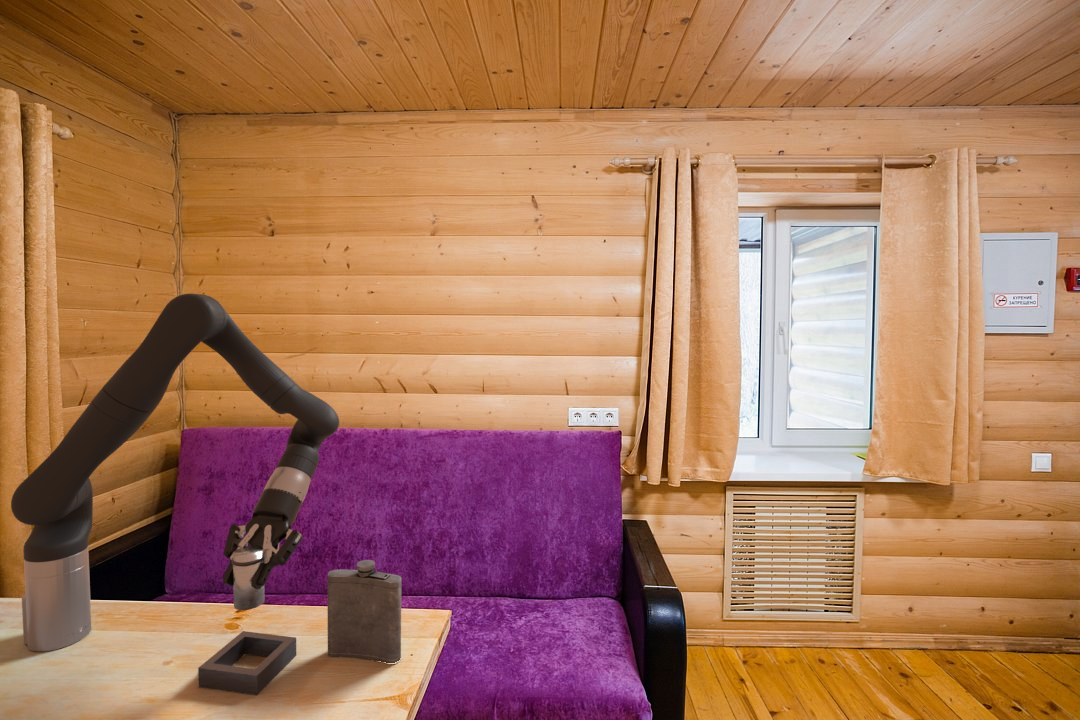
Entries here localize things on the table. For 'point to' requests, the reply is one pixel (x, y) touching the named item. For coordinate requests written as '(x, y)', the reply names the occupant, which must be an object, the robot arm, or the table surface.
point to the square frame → (247, 680)
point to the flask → (364, 614)
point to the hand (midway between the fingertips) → (241, 585)
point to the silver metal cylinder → (247, 577)
